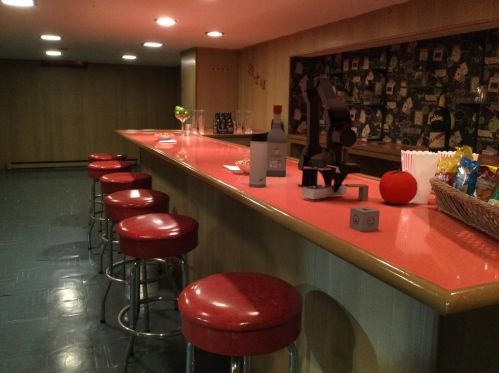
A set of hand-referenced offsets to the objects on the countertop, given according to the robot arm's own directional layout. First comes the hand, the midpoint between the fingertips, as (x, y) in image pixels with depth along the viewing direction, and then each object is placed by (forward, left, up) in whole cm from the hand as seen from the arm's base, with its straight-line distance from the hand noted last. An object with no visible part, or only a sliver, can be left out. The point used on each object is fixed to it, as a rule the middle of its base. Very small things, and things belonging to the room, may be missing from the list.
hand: (331, 191), depth 153 cm
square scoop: (+3, -1, -1) cm, 3 cm away
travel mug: (-1, -30, -2) cm, 31 cm away
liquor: (-29, -41, -2) cm, 50 cm away
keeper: (-2, +7, -2) cm, 8 cm away
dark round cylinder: (+7, -2, -2) cm, 8 cm away
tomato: (-7, +20, -2) cm, 21 cm away
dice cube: (+31, +24, -2) cm, 39 cm away
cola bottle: (-42, -18, -2) cm, 45 cm away
